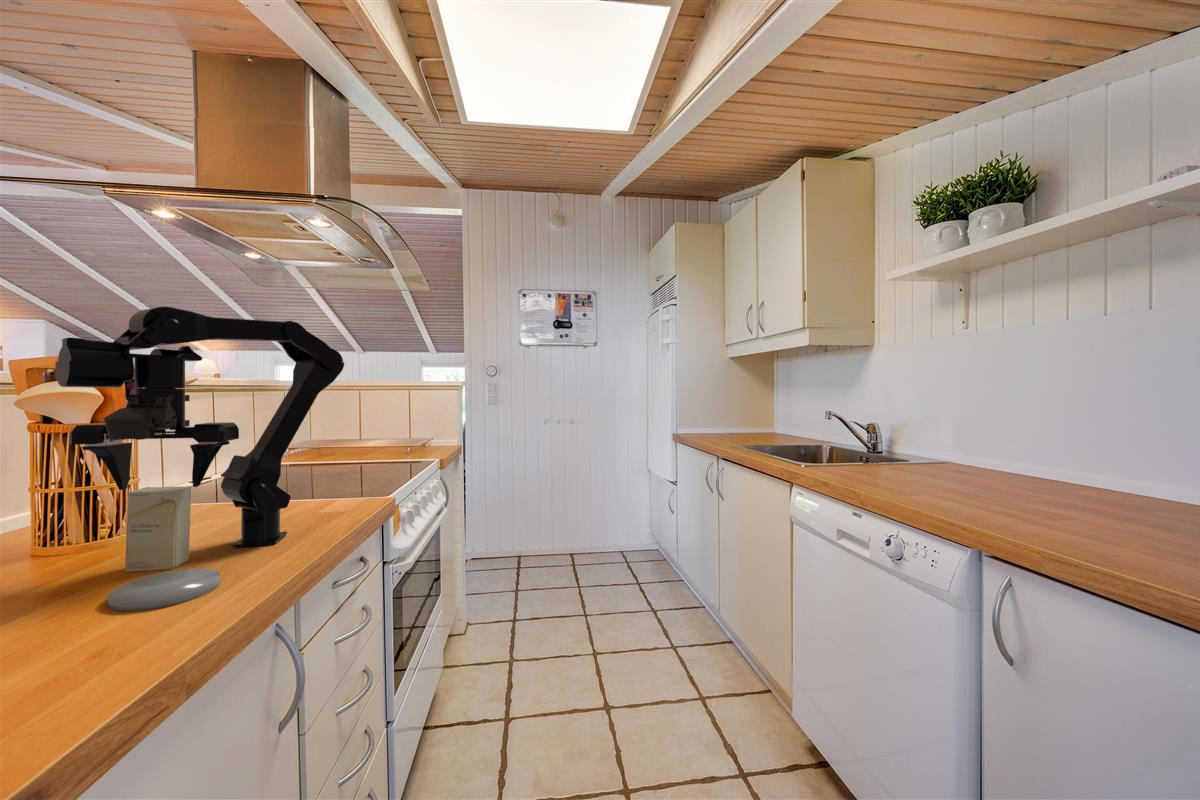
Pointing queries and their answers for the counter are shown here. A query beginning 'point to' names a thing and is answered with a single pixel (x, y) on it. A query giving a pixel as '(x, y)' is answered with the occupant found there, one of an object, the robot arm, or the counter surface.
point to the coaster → (163, 589)
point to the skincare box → (157, 528)
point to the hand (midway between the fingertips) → (160, 488)
